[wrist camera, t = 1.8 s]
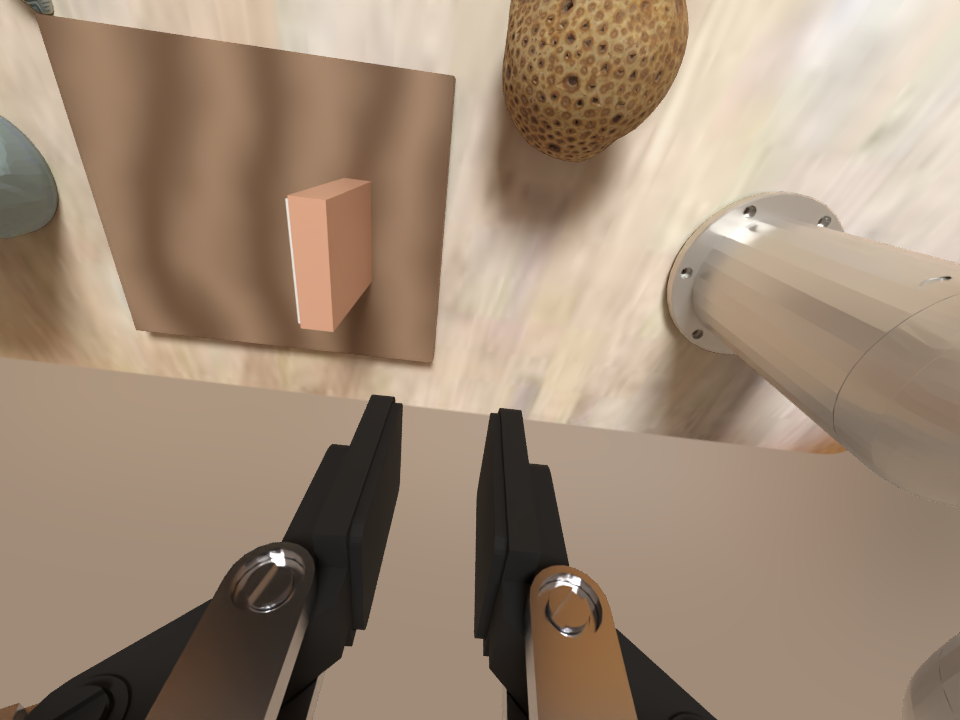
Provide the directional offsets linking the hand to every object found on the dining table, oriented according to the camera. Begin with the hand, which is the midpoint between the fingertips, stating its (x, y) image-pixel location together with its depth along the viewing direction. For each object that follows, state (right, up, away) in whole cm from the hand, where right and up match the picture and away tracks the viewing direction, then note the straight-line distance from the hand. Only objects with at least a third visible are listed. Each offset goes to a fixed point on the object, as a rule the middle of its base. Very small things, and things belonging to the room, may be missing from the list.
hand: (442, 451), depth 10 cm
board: (-14, +13, +20) cm, 27 cm away
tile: (-8, +11, +19) cm, 23 cm away
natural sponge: (+6, +20, +15) cm, 26 cm away
